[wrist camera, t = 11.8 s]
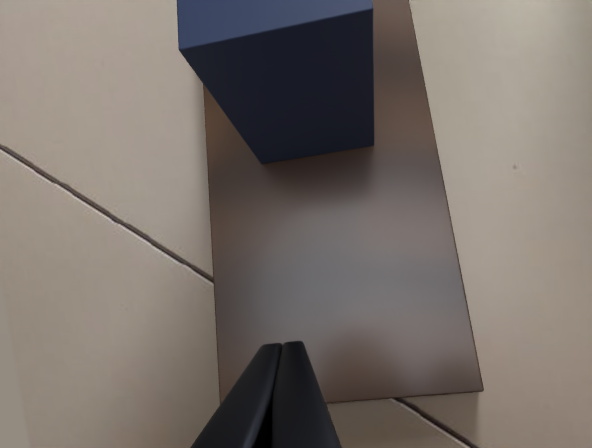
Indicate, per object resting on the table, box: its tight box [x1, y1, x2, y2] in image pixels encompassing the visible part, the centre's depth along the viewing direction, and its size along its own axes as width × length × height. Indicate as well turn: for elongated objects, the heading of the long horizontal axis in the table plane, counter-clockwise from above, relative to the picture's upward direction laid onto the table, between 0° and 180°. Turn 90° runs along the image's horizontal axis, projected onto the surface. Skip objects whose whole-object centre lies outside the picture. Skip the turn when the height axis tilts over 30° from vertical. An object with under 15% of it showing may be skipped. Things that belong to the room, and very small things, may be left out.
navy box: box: [177, 0, 375, 164], centre depth 19 cm, size 10×6×8 cm
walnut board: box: [203, 0, 484, 404], centre depth 23 cm, size 22×12×1 cm, turn 5°
